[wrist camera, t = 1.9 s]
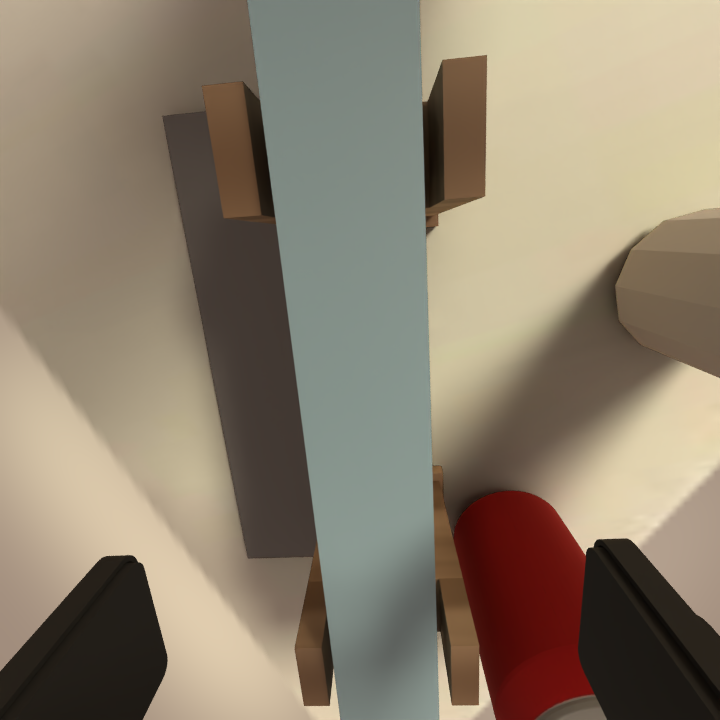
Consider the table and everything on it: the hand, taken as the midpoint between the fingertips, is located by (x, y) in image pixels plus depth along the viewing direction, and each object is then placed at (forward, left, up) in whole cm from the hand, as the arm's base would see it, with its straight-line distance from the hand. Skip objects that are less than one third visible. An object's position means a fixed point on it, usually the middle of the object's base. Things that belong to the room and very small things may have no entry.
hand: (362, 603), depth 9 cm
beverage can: (+11, +8, -16) cm, 21 cm away
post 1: (-10, 0, -15) cm, 18 cm away
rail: (-1, 0, -7) cm, 7 cm away
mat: (-1, -6, -15) cm, 17 cm away
